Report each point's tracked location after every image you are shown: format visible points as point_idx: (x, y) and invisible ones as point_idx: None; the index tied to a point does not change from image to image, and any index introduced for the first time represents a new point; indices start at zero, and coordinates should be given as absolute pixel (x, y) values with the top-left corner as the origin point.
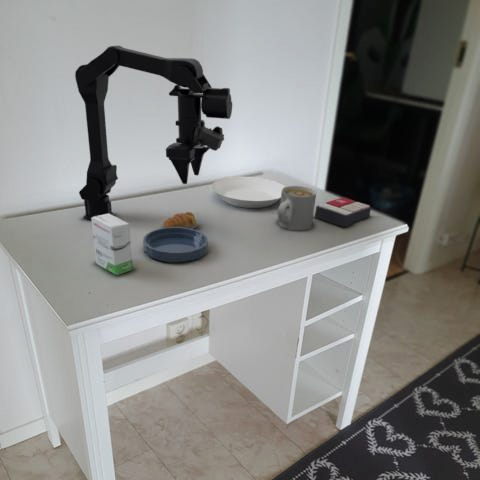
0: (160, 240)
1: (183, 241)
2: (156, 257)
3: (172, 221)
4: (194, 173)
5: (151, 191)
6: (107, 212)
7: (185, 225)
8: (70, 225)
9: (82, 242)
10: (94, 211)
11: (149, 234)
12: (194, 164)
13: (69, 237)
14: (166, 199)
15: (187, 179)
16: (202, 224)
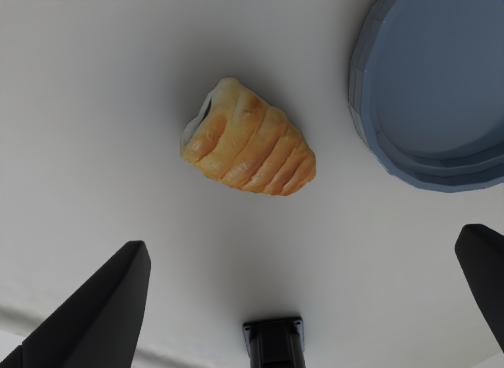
0: (412, 145)
1: (407, 63)
2: None
3: (293, 169)
4: (148, 275)
5: (13, 328)
6: (287, 334)
7: (283, 114)
8: (346, 348)
9: (438, 296)
10: (302, 353)
11: (449, 184)
12: (117, 362)
13: (413, 323)
14: (35, 275)
15: (500, 247)
16: (171, 69)
